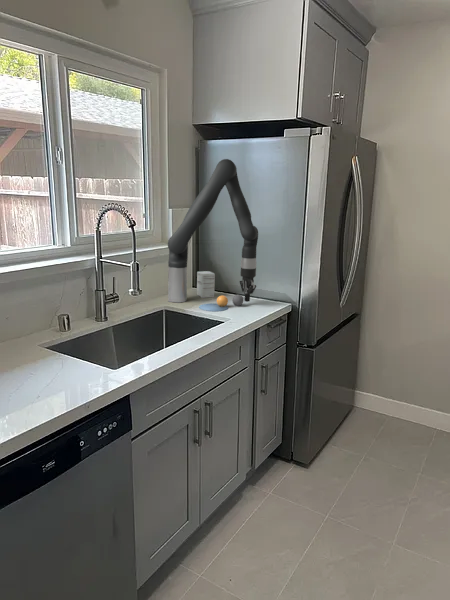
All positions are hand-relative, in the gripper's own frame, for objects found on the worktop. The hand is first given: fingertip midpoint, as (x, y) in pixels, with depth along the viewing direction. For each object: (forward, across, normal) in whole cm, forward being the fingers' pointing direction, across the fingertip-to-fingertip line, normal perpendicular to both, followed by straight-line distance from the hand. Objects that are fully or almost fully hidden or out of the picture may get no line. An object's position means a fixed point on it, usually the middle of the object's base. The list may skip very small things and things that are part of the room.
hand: (246, 301), depth 229 cm
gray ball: (-1, -1, +6) cm, 6 cm away
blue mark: (+2, 0, +18) cm, 19 cm away
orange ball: (-1, 0, +14) cm, 14 cm away
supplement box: (+2, +23, +12) cm, 26 cm away
